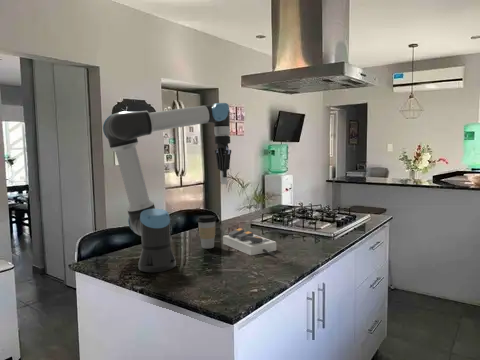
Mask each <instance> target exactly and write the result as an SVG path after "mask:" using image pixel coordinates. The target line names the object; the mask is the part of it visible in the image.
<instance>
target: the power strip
mask: <svg viewBox="0 0 480 360" xmlns="http://www.w3.org/2000/svg"><path fill="white" fill-rule="evenodd" d="M245 232H246V231H245ZM245 232H244V233H245ZM254 236H255V237H260V238H262V239H263V240H262V242H256V241H249V240H246V239H243V240H239V239H237V237H230V236H229V234H226V235H222V244H223V245H225V246H227V247H230V248H232V249H235V250H237V251H240V252H242V253H244V254H247V255H249V256H255V255H258V254H264V253H265V254H266V253H267V254H269V255H271V256H275V255H276V253H275V251H277V241H274V240H271V239H268V238H265V237H262V236H260V235H257V234H254V233H253V237H254Z"/></svg>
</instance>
